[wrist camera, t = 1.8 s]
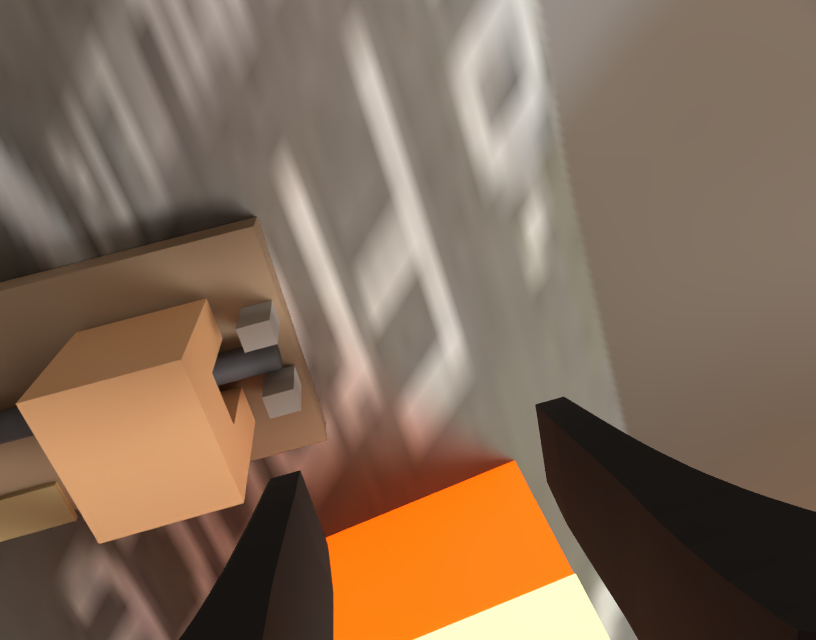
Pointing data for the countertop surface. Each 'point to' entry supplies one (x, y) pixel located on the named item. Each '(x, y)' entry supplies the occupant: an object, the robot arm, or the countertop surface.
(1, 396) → the cord board
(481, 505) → the orange juice
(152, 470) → the tan small block
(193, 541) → the countertop surface
